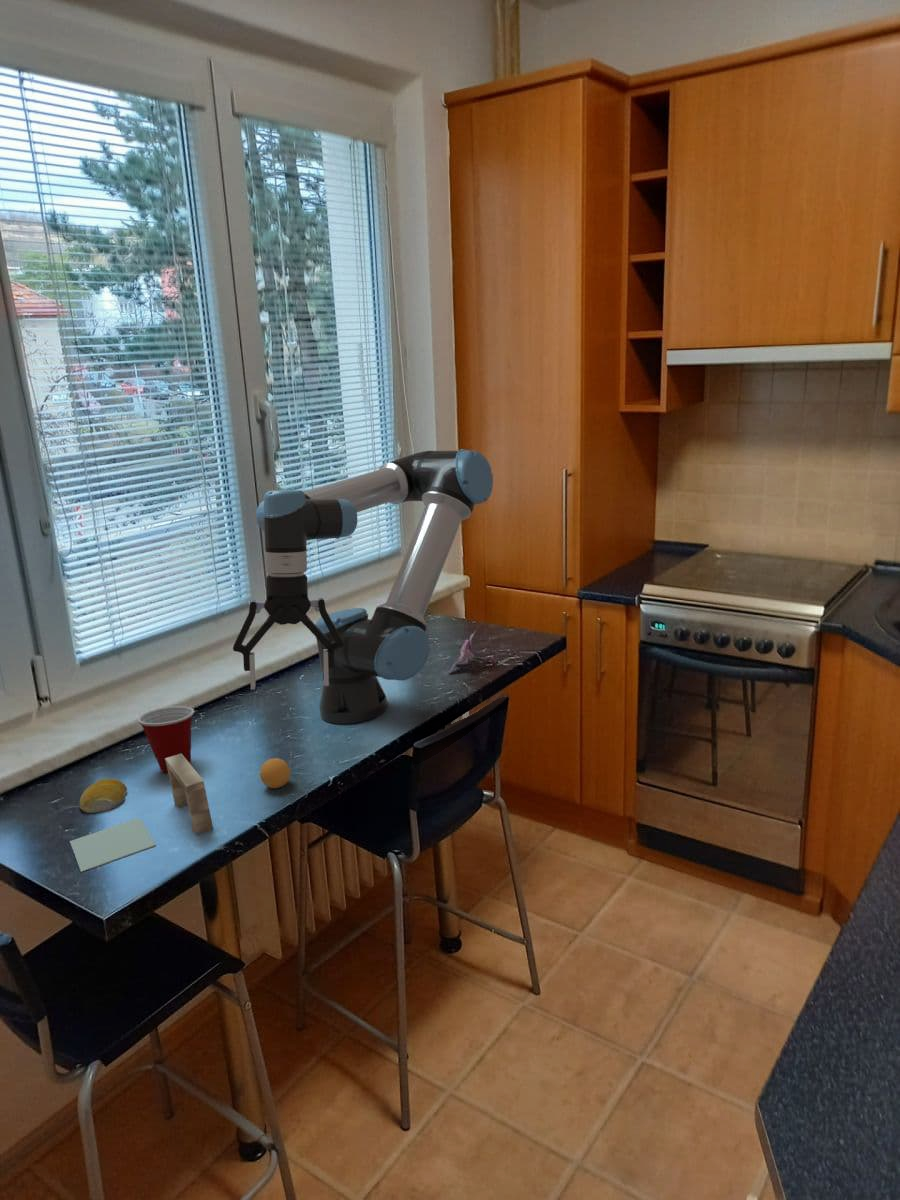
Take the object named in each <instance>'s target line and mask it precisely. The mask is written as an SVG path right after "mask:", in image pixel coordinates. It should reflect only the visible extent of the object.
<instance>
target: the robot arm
mask: <svg viewBox="0 0 900 1200" xmlns="http://www.w3.org/2000/svg"><path fill="white" fill-rule="evenodd" d="M493 486H494V476H493V473H492V467H491V465H490V463H489V461H488V459H487V458H486V457H485V456H484V454H482V453H481V452H480V451H477V450H467V449H462V448H461V449H459V450H426V451H425V450H424V451H420V452H415V453H413V454H410V455H407V456H403V457H401V458H398V459H394V460H392V461H388V462H384V463H383V464H382V465H381V466H379V468H378V469H377V470H373V471H371V472H367V473H364V474H360V475H357V476H353V477H349V478H346V479H343V480H340V481H336V482H333V483H330V484H325V485H323V486H319V487H315V488H312V489H309V490H306V491H303V490H302V489H301V490H300V489H287V490H286V489H285V490H284V489H277V490H276V489H275V490H274V489H273V490H268V491H267V492H265V494H264V496H263V500H262V501H261V502H260V503H259V504H258V506H257V509H256V513H255V517H256V522H257V525H258V527H259V528H260V530H262V531H263V532H264V533H263V534H264V548H265V549H264V556H265V557H264V559H265V572H266V574H268V575H267V576H266V577H265V579H266V580H265V586H266V589H265V590H266V600H265V602H264V601H256V600H255V599H252V600H250V603H249V607H248V608H249V609H248V610H249V611H248V613H247V616H246V618H245V620H244V623H243V624H242V627H241V629H240V631H239V633H238V636H237V638H236V640H235V641H234V644H233V647H232V650H233V652H237V653H241V654H242V655H243V658H242V659H243V670H244V672H249V673H250V674H249V676H250V677H249V679H250V690H256V667H255V666H256V664H255V663H256V662H255V660H256V659H255V651H252V650H253V649H255V647H256V646H257V644H258V643H259V642H260V641H261V639H263V637H264V636H265V634H266V633H267V632H268V631H269V630H270V629H271V628H272V627H273V625H274V624H275V623H276V624H277V625H278V624H279V625H280V626H281V625H282V626H284V625H287V624H290V625H297V624H299V623H302V624H303V625H304V626H305V627H306V628H307V629H308V630H309V631H310V632H311V633H312V635H313V636H315V639H316V644H317V650H318V656H319V663H320V667H321V668H320V669H321V673H322V680H323V685H322V690H321V695H320V701H319V714H320V718H321V719H322V720H323V721H325V722H327V723H331V724H335V725H337V724H338V725H348V724H349V725H350V724H356V723H357V724H358V723H362V722H366V721H369V720H372V719H375V718H377V717H378V716H380V715H382V714H383V713H385V712H386V710H387V709H388V700H387V696H386V693H385V691H384V688H383V687H382V685H381V683H380V680H379V679H378V678H382V679H384V680H386V681H387V680H389V681H393V680H394V681H406V680H409V679H411V678H413V677H415V676H416V675H417V674H418V673H420V671H421V670H422V669H423V668H424V666H425V665H426V663H427V661H428V657H429V654H430V646H429V644H430V640H429V637H428V635H427V633H426V631H427V628H428V626H427V623H426V621H425V618H424V617H425V614H426V612H427V609H428V606H429V604H430V601H431V598H432V596H433V593H434V591H435V589H436V587H437V583H438V581H439V578H440V576H441V573H442V571H443V568H444V565H445V563H446V560H447V559H448V556H449V553H450V550H451V548H452V545H453V543H454V540H455V538H456V535H457V533H458V530H459V528H460V525H461V523H462V522H463V521H465V520H467V519H470V517H471V515H472V513H473V511H474V508H475V506H476V505H481V504H483V503H485V502H487V501H488V500H489V498H490V497H491V494H492V493H493ZM405 502H423V503H422V504H424V509H423V511H422V514H421V516H420V519H419V521H418V524H417V526H416V528H415V530H414V533H413V535H412V539H411V541H410V543H409V545H408V548H407V550H406V552H405V556H404V558H403V559H402V562H401V565H400V568H399V569H398V571H397V575H396V578H395V579H394V581H393V584H392V587H391V589H390V592H389V594H388V597H387V599H386V602H385V603H382V604H379V605H378V606H376V607H375V610H374V612H373V614H372V616H371V619H369V613H368V611H367V609H365V608H363V607H354V608H347V609H342V610H338V611H335V612H331V613H328V611H327V609H326V602H325V599H324V598H323V597H320V598H318V599H314V600H313V599H312V600H310V599H309V594H308V593H309V591H308V576H307V574H305V573H306V572H307V571H308V559H307V558H308V557H307V555H308V554H307V553H308V551H307V548H308V547H307V545H308V544H307V543H308V542H307V541H311V540H312V541H314V540H326V539H336V540H338V539H340V538H345V537H346V538H347V537H350V536H351V535H352V534H353V533H355V532H356V531H355V530H356V529H357V526H358V513H360V512H363V511H366V510H370V509H372V508H375V507H379V506H381V505H384V504H387V503H389V504H391V505H398V504H402V503H405ZM311 608H313V609H314V610H315V611H316V612H319V615H320V616H321V617H320V618H318V619H317V621H316V622H315V623H314V622H313V621H312V620H311V618H310V617H309V616H308V615H307V613H308V612H309V610H310V609H311ZM262 609H264V610H265V611H266V612H267V613H268V615H269V616H268V617H267V619H266V620H265V621H264V623H262V624H261V626H260V627H259V629H257V630H256V632H255V633H254V635H253V636H252V637H251V638H250V639H249V641H248V642H247V643H246V644H245V645H244V644H243V642H244V641H245V638H246V636H247V635H248V632H249V630H250V628H251V626H252V624H253V621H254V619H255V618H256V614H260V612H261V610H262Z"/></svg>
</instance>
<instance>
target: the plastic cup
mask: <svg viewBox="0 0 900 1200" xmlns="http://www.w3.org/2000/svg"><path fill="white" fill-rule="evenodd" d="M194 714H195V709H194V708H193V707H189V706H185V705H184V706H183V705H177V706H176V705H175V706H165V707H161V708H160V707H159V708H155V709H153V710H152V709H151V710H149V711H147V712H144V713H142V714H141V715H140V716H138V718H137V720H138V724H140V725H141V726H142V729H143V731H144V734H145V735H146V738H147V740H148V742H149V746H150V748H151V750H152V753H153V755H154V757H155V759H156V761H157V763H158V766H159V768H160V770H161V771H162V773H163V774H166V775H168V770H167V765H166V760H165V758H168V757H171V756H175V755H178V754H181V753H182V755H183V756H184V757H185V758H186V760H187V761H188V762H189V763H190V765H191V766H192V764H191V763H192V756H191V755H192V753H191V752H192V720H193V715H194Z"/></svg>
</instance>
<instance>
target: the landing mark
mask: <svg viewBox="0 0 900 1200" xmlns="http://www.w3.org/2000/svg"><path fill="white" fill-rule="evenodd" d="M69 844H70V846H71V849H72V851H73V854H75V855H74V857H75V860H76V863H77V865H78V868H79V870H80V873H84V872H87V871H90V870H92V869H95V868H98V867H101V866H103V865H106V864H109V863H111V862H115V861H118V860H120V859H123V858H126V857H128V856H130V855H134V854H137V853H139V852H143V851H145V850H148V849H150V848H154V847H156V846H157V844H156V843H155V841H154V839H153V838H152V836H151V834H150V832H149V830H148V829H147V827H146V825H145V823H144V821H143V820H142V818H141V817H136V818H134V819H131V820H128V821H125V822H122V823H120V824H117V825H114V826H110V827H108V828H104V829H102V830H99V831H96V832H93V833H90V834H86V835H83V836H81V837H79V838H75V839H73V840H72V839H71V840H69ZM89 869H90V870H89ZM86 870H87V871H86ZM83 871H84V872H83Z"/></svg>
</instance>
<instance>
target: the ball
mask: <svg viewBox="0 0 900 1200" xmlns="http://www.w3.org/2000/svg"><path fill="white" fill-rule="evenodd" d="M259 776H260V780H261V782H262V783H263V785H265V786H266V787H268V788H270V789H278V788H281V787H283V786H284V785H286V784H287V783H288V781H289V779H290V777H291V770H290V767H289V765H288V763H287V762H286V761H285V760H283V759H281V758H277V757H275V758H270V759H268V760H266V761H265V762H264V763H263V764H262V766H261V768H260V772H259Z"/></svg>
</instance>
